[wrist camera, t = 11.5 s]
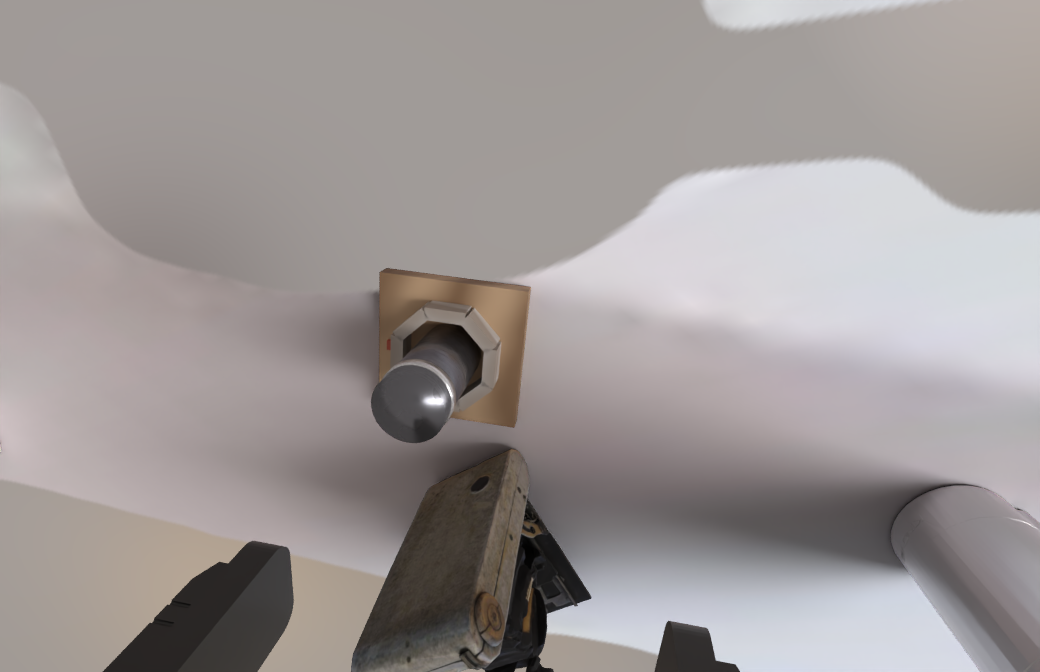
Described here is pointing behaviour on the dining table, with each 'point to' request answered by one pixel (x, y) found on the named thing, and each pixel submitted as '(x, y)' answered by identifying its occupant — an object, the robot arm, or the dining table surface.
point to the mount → (481, 312)
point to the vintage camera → (471, 580)
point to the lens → (426, 384)
